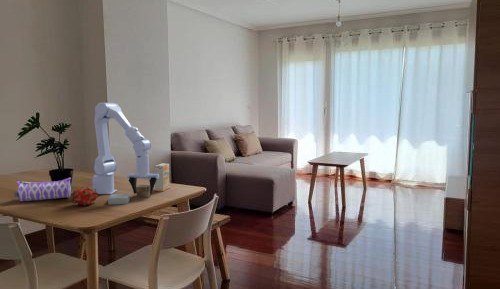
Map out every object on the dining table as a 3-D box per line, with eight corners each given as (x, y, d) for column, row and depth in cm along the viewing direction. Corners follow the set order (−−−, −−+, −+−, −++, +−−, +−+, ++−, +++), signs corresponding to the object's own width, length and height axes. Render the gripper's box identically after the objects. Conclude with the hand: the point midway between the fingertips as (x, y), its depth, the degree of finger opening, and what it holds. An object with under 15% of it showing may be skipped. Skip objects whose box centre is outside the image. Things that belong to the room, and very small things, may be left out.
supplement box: (163, 191, 185) (163, 165, 184) (154, 191, 186) (154, 165, 185) (170, 188, 193) (169, 163, 192) (161, 187, 194) (161, 162, 193)
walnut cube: (136, 197, 173) (136, 187, 173) (139, 195, 178) (139, 184, 178) (147, 197, 173) (147, 187, 173) (150, 195, 178) (149, 185, 178)
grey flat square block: (108, 205, 161) (108, 198, 161) (111, 200, 169) (111, 194, 168) (127, 204, 162) (127, 197, 162) (129, 199, 170) (129, 193, 170)
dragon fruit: (67, 210, 157) (96, 209, 165) (74, 202, 151) (103, 201, 159) (66, 192, 160) (94, 192, 168) (72, 183, 155) (101, 183, 163)
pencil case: (14, 204, 161) (13, 182, 160) (19, 199, 169) (18, 178, 168) (71, 199, 169) (70, 179, 168) (72, 195, 177) (72, 175, 176)
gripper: (124, 166, 170) (125, 195, 171) (156, 166, 170) (156, 195, 172) (129, 163, 177) (129, 191, 178) (159, 164, 177) (160, 191, 179)
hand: (143, 193), depth 175 cm, fingers open, 7 cm apart
